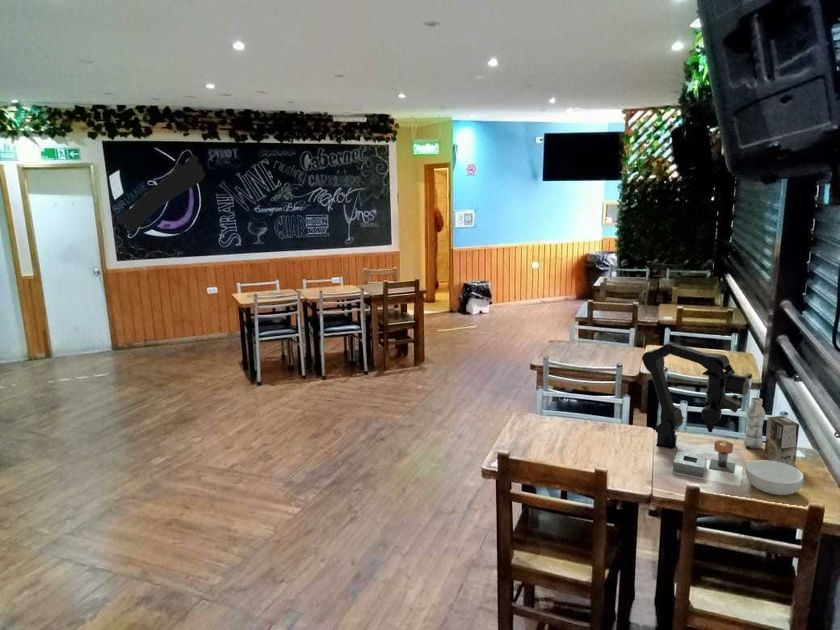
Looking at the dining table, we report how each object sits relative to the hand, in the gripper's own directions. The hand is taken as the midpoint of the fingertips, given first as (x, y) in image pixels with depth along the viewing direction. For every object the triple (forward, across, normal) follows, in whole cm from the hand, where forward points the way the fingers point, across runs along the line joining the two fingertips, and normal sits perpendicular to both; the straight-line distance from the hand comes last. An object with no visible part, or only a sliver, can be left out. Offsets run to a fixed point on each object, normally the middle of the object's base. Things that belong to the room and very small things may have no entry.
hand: (711, 427), depth 219 cm
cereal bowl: (+12, -15, -21) cm, 29 cm away
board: (+12, -11, -1) cm, 17 cm away
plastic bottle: (+13, +20, -14) cm, 27 cm away
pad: (+12, -6, -5) cm, 14 cm away
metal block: (+12, -14, +5) cm, 19 cm away
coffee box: (+12, +11, -23) cm, 28 cm away
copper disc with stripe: (+12, -6, -5) cm, 14 cm away
